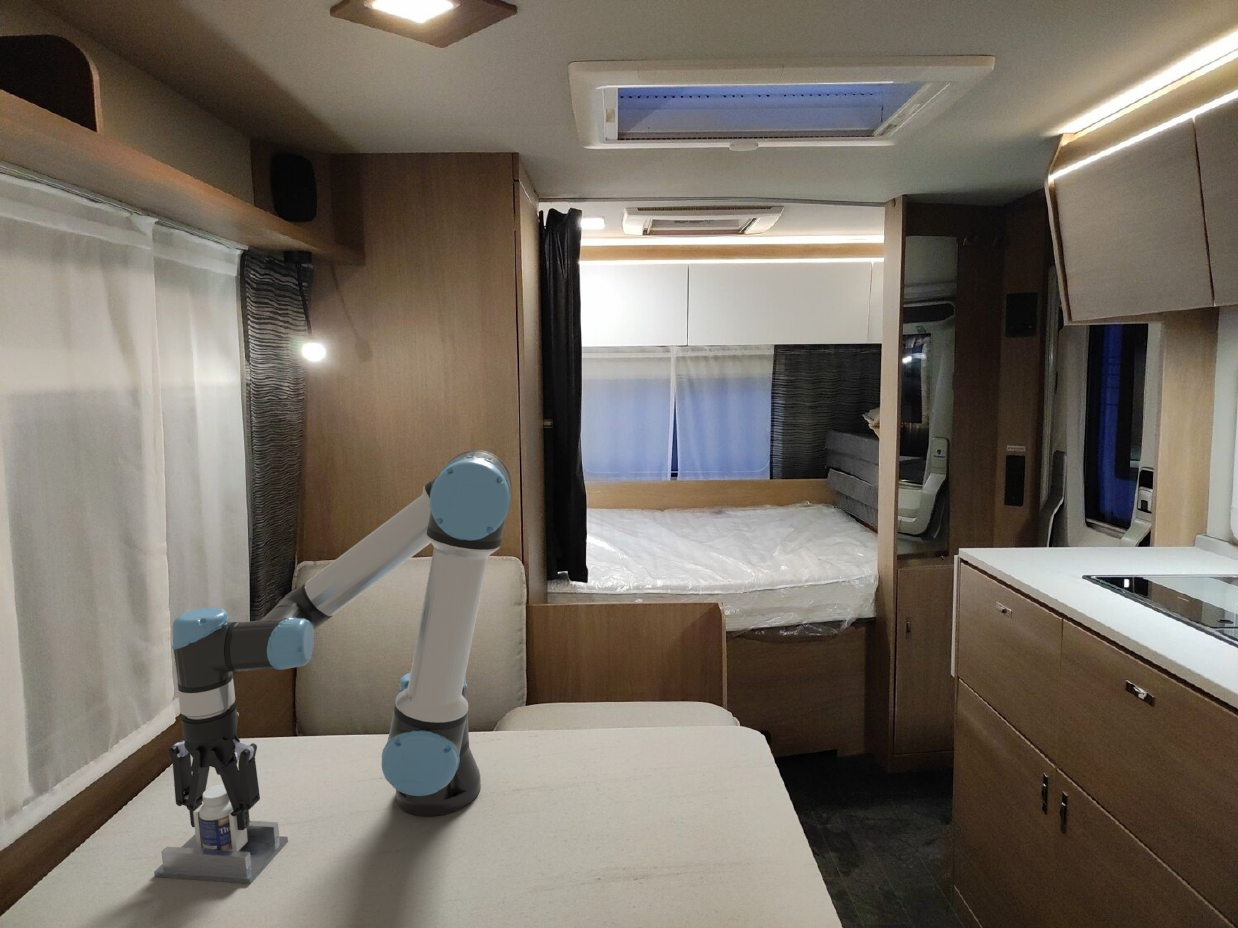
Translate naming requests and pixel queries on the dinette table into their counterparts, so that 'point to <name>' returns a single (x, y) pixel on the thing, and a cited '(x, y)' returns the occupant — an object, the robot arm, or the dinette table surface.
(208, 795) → the pill bottle
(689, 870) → the dinette table surface
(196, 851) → the rail channel
